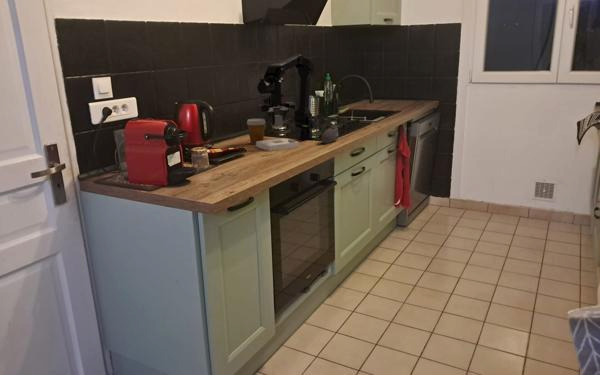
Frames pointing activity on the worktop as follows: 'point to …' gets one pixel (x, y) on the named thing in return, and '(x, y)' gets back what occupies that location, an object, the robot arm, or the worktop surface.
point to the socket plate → (277, 144)
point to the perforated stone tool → (330, 135)
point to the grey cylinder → (278, 122)
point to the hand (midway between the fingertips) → (277, 124)
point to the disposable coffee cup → (256, 129)
